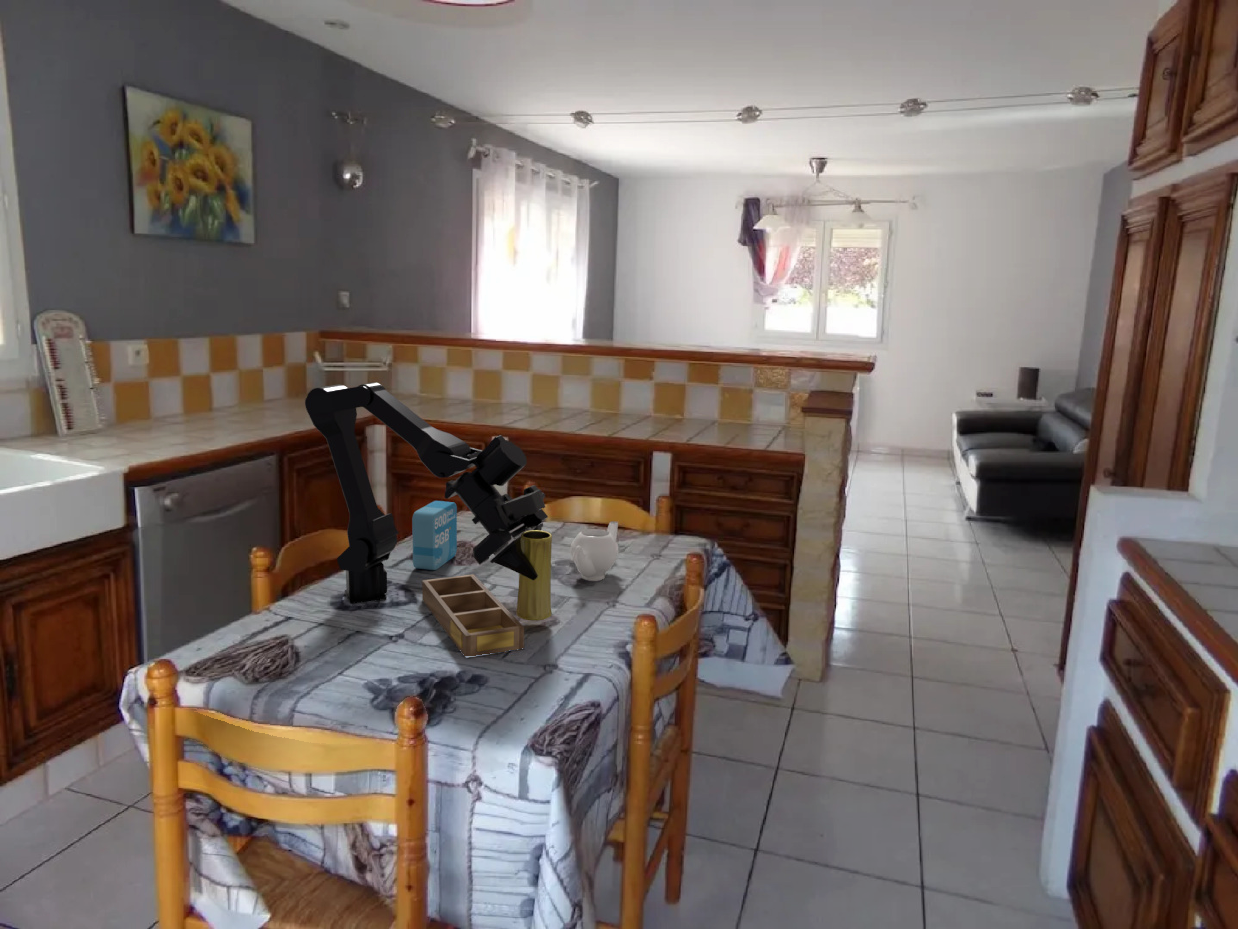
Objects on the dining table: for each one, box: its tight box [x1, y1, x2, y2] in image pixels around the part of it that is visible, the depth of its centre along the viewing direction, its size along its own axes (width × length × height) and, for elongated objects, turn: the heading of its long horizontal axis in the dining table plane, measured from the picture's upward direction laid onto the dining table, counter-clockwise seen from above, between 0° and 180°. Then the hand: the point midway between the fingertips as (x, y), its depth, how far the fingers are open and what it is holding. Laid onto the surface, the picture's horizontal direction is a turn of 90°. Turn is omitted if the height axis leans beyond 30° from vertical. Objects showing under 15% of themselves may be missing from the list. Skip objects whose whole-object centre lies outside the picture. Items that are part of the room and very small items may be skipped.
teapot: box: [570, 521, 620, 582], centre depth 173 cm, size 10×20×9 cm, turn 156°
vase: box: [515, 530, 553, 622], centre depth 147 cm, size 6×6×14 cm
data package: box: [411, 500, 458, 571], centre depth 178 cm, size 12×4×12 cm, turn 167°
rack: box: [421, 573, 525, 657], centre depth 148 cm, size 10×27×4 cm, turn 27°
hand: (542, 573), depth 146 cm, fingers closed on vase, 5 cm apart
